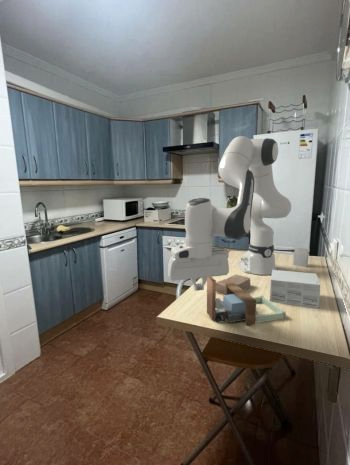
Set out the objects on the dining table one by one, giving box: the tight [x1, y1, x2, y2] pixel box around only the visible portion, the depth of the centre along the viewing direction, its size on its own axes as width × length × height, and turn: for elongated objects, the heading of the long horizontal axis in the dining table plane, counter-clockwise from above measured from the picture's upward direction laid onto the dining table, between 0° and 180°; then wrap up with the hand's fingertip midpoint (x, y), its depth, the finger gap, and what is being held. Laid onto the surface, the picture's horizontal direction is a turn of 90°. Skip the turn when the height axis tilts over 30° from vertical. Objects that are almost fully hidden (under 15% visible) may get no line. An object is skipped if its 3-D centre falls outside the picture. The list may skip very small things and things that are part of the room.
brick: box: [216, 274, 251, 295], centre depth 111 cm, size 17×8×5 cm, turn 136°
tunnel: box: [225, 282, 257, 327], centre depth 90 cm, size 16×3×8 cm, turn 14°
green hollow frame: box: [252, 295, 287, 323], centre depth 92 cm, size 14×11×2 cm
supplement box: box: [269, 269, 321, 309], centre depth 101 cm, size 17×13×9 cm
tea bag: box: [292, 246, 309, 268], centre depth 142 cm, size 4×7×10 cm, turn 54°
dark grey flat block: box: [213, 316, 226, 323], centre depth 88 cm, size 7×3×1 cm, turn 14°
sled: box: [206, 277, 245, 323], centre depth 88 cm, size 11×14×13 cm
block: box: [222, 294, 246, 315], centre depth 90 cm, size 7×8×6 cm
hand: (198, 289), depth 85 cm, fingers closed
